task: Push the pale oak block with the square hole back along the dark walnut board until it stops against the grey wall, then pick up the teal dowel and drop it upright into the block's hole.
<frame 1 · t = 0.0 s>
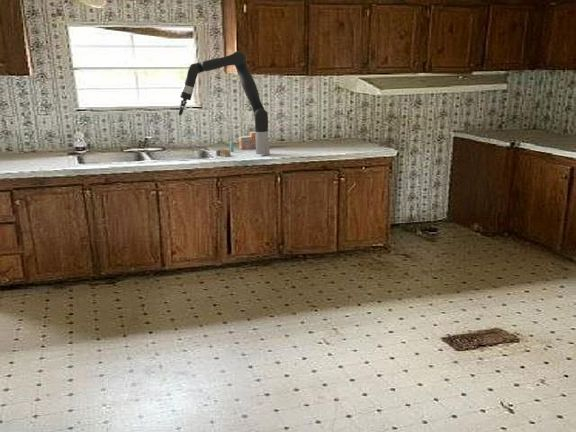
hand: (180, 114, 389), 31 cm above the table, tool tilted 20°, fingers open, 8 cm apart
board with wall: (223, 157, 399), on the table
stack of blocks: (253, 148, 436), on the table
dowel: (232, 153, 414), on the table
block: (225, 153, 397), point 3 cm above the table, slide at 2.2 cm
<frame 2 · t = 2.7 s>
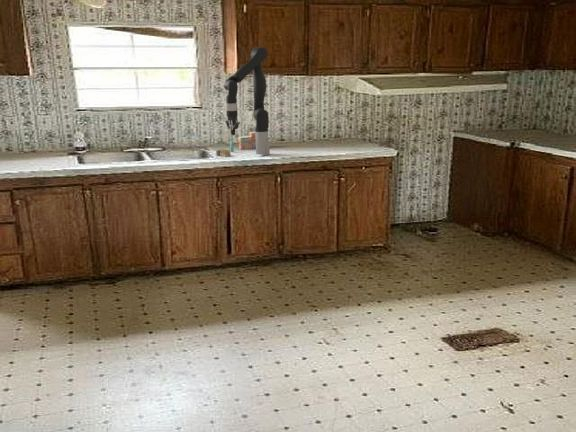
hand: (233, 134, 387), 17 cm above the table, tool pointing down, fingers closed
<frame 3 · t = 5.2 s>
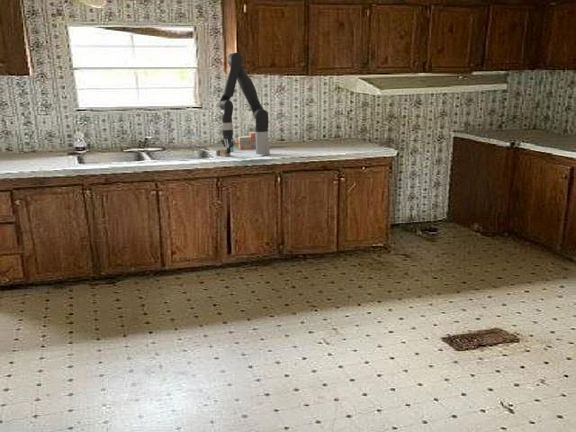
hand: (228, 153, 395), 4 cm above the table, tool pointing down, fingers closed
block: (225, 153, 398), point 3 cm above the table, slide at 2.0 cm, touching gripper
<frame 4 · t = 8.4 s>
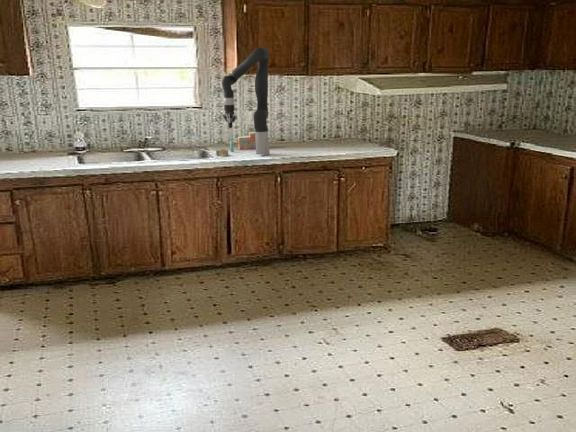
hand: (230, 127, 407), 19 cm above the table, tool pointing down, fingers closed
block: (223, 152, 399), point 3 cm above the table, slide at 0.0 cm
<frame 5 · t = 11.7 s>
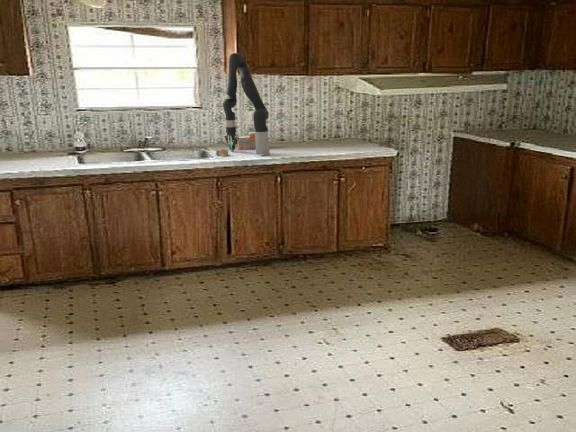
hand: (232, 149, 413), 3 cm above the table, tool pointing down, fingers closed on dowel, 2 cm apart
dowel: (232, 153, 413), on the table, touching gripper
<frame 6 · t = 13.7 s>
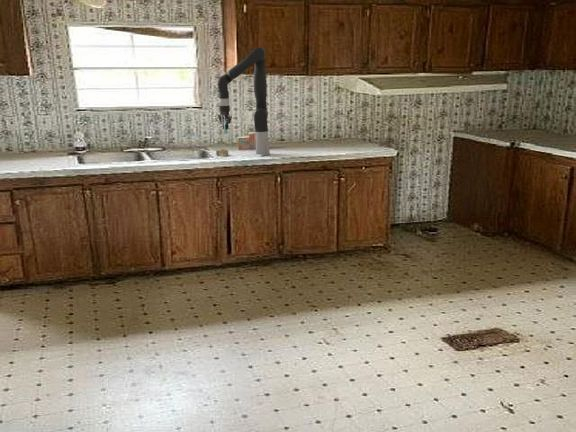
hand: (225, 129, 401), 19 cm above the table, tool pointing down, fingers closed on dowel
dowel: (225, 133, 401), point 16 cm above the table, touching gripper
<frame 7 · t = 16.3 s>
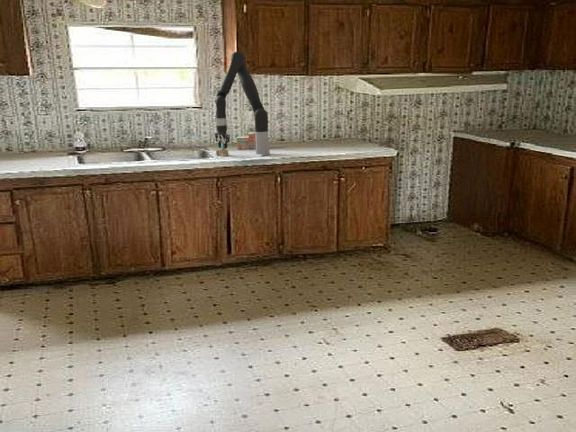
hand: (222, 148, 398), 7 cm above the table, tool pointing down, fingers open, 5 cm apart
dowel: (223, 155, 399), point 1 cm above the table, touching board with wall
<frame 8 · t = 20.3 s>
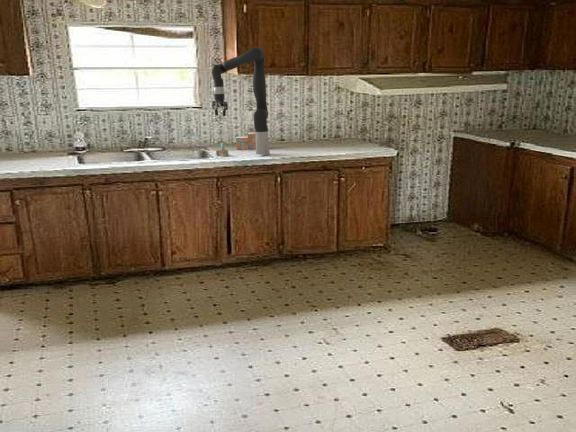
hand: (220, 115, 405), 28 cm above the table, tool pointing down, fingers open, 8 cm apart
at the end: block slide at 0.0 cm; dowel 0.3 cm from the target spot, point 1.0 cm above the table; dowel tilted 1° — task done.
